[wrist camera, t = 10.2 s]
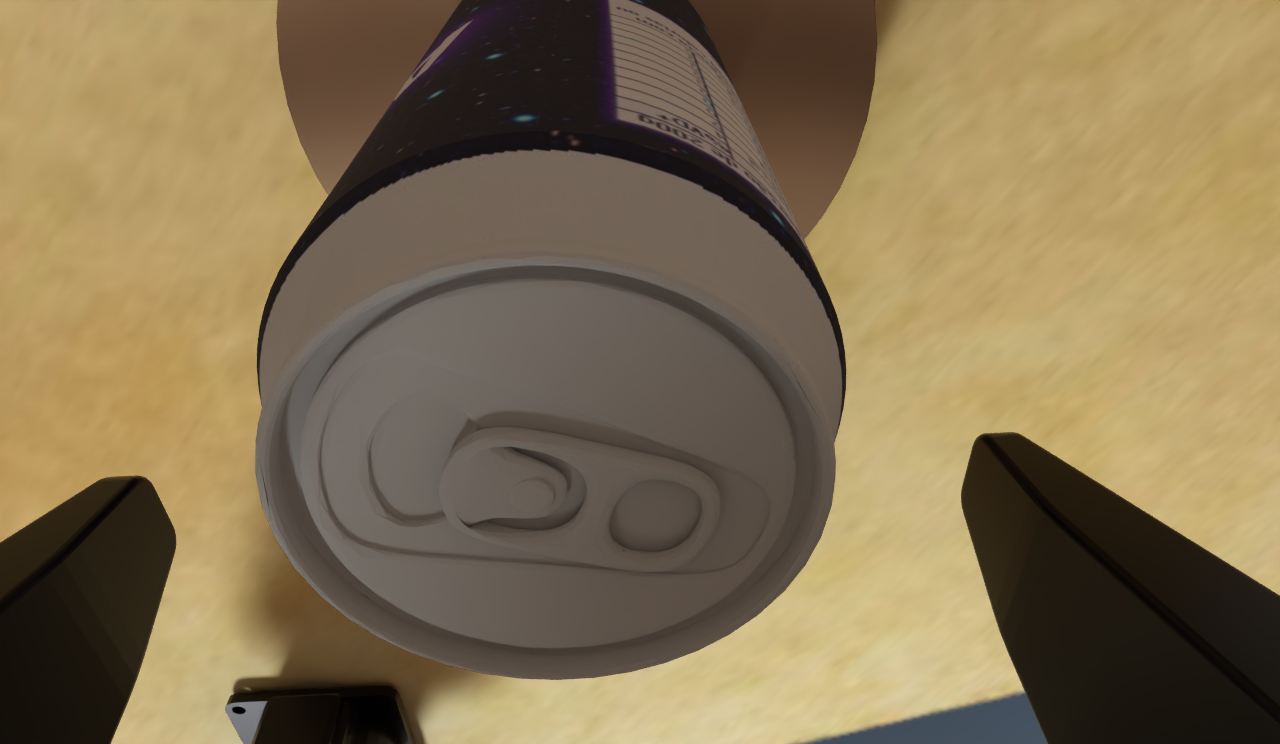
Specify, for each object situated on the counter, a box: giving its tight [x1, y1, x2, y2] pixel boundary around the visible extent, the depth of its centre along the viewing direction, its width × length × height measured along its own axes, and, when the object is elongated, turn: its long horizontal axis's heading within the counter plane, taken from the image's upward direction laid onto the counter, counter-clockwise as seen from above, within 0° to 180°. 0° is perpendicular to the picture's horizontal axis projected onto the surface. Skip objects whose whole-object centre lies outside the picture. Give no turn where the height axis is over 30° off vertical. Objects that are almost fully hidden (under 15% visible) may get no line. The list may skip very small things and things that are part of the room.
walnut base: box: [276, 0, 877, 239], centre depth 18 cm, size 12×12×2 cm
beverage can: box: [255, 0, 846, 680], centre depth 12 cm, size 6×6×12 cm
